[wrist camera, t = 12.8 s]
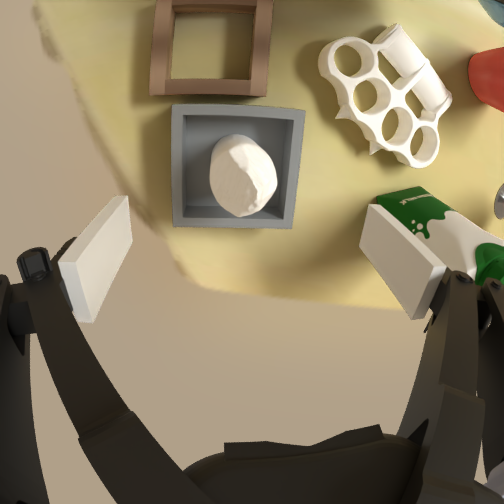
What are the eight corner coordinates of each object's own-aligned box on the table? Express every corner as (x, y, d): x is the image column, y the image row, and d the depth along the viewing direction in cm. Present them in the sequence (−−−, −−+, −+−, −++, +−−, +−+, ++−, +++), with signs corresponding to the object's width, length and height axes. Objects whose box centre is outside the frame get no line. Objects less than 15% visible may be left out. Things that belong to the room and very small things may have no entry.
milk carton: (424, 178, 34) (537, 252, 16) (424, 237, 38) (512, 325, 21) (369, 190, 34) (478, 283, 17) (372, 253, 38) (453, 360, 21)
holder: (163, 2, 21) (157, -6, 19) (268, 3, 23) (273, -5, 20) (155, 95, 27) (149, 95, 24) (262, 96, 28) (266, 96, 25)
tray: (178, 103, 27) (171, 104, 23) (294, 108, 29) (305, 110, 25) (178, 210, 33) (173, 226, 29) (283, 212, 34) (291, 229, 31)
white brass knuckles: (453, 113, 30) (390, 185, 34) (369, 5, 23) (289, 80, 28) (470, 117, 27) (404, 194, 31) (383, -1, 20) (297, 78, 25)
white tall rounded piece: (193, 165, 18) (279, 143, 18) (204, 141, 29) (257, 127, 29) (218, 246, 21) (296, 226, 21) (219, 194, 32) (270, 181, 31)
